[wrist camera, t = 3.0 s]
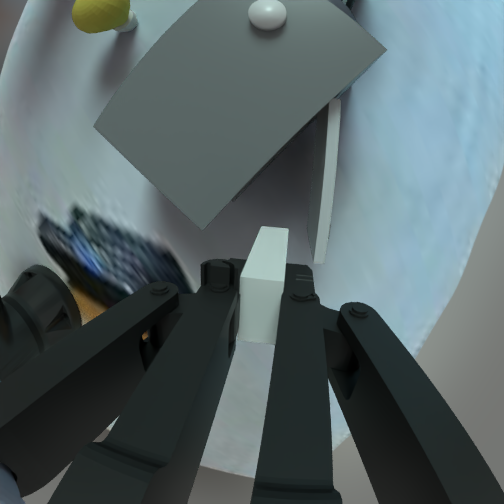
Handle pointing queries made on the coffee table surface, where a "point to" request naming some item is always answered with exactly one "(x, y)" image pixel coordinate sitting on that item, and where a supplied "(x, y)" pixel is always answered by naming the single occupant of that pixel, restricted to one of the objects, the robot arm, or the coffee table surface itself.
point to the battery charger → (348, 3)
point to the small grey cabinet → (232, 94)
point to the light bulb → (103, 15)
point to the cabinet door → (323, 178)
